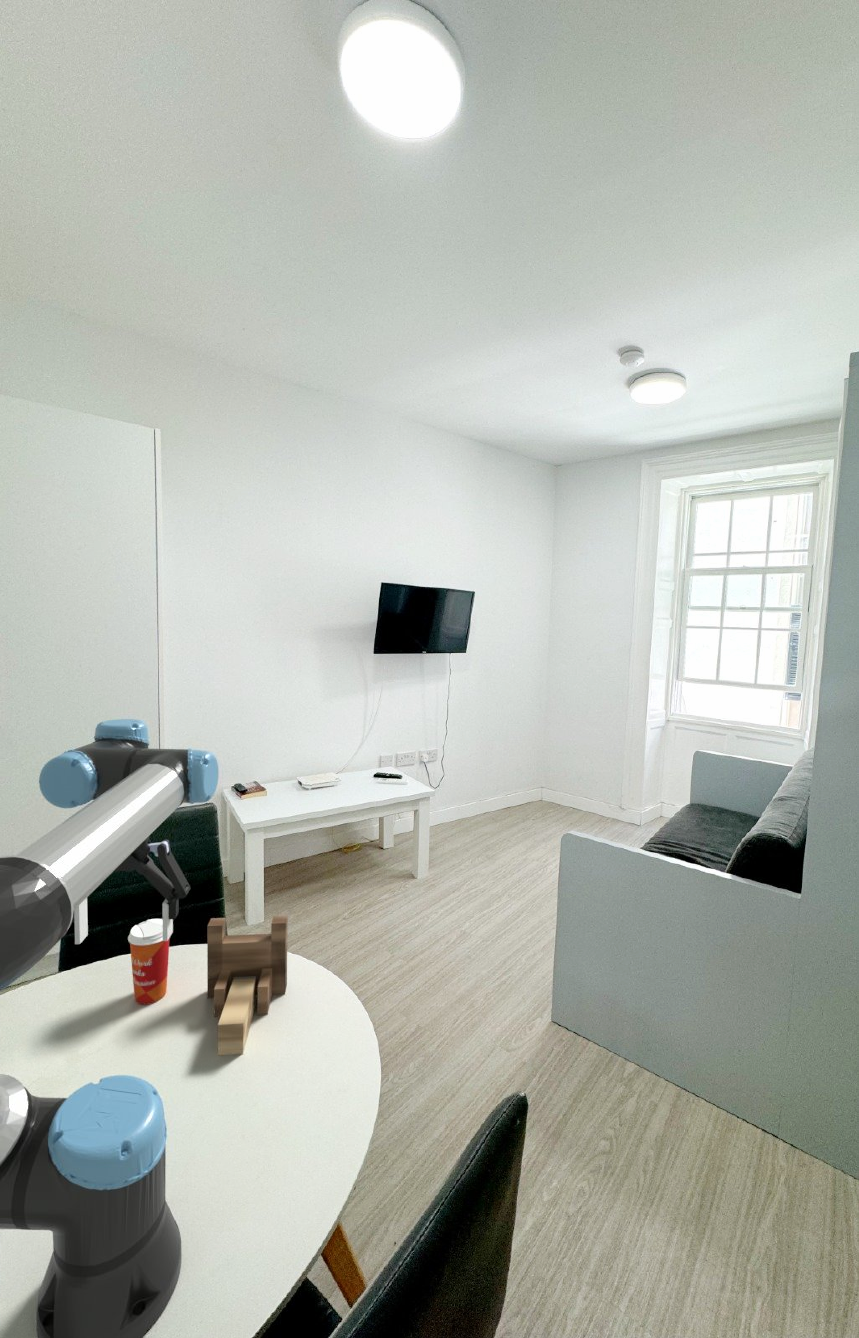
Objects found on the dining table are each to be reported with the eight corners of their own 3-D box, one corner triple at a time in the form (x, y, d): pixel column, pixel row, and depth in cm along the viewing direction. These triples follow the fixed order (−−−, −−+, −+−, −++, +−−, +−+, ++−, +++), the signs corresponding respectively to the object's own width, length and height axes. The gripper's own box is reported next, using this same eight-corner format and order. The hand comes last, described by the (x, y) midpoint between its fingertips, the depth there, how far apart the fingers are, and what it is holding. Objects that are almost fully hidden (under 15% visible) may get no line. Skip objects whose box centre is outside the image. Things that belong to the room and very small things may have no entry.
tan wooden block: (243, 1053, 104) (243, 1023, 104) (217, 1055, 104) (217, 1024, 103) (256, 1003, 118) (256, 976, 117) (233, 1004, 117) (234, 977, 117)
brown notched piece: (281, 1013, 115) (282, 938, 114) (199, 1018, 113) (199, 942, 112) (286, 984, 124) (287, 915, 123) (211, 988, 122) (211, 918, 120)
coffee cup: (121, 997, 118) (119, 929, 117) (158, 977, 125) (158, 913, 124) (142, 1014, 114) (141, 943, 112) (180, 992, 120) (179, 925, 119)
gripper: (208, 806, 97) (208, 923, 99) (53, 807, 94) (56, 928, 96) (196, 821, 90) (196, 948, 92) (27, 823, 87) (31, 954, 89)
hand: (125, 938), depth 94 cm, fingers open, 13 cm apart
